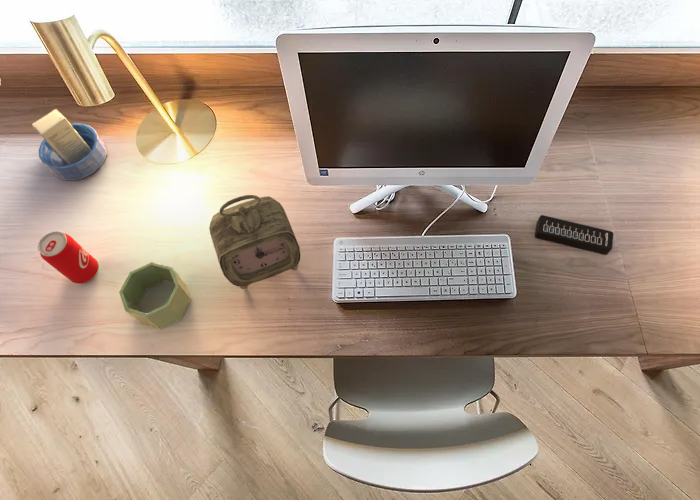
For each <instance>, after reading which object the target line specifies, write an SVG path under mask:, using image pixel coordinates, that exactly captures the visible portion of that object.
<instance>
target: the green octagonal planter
mask: <svg viewBox="0 0 700 500" xmlns="http://www.w3.org/2000/svg"><path fill="white" fill-rule="evenodd" d="M164 281H166V282H169V283H174V285H175V286H174V289H173V291H172V292H171V295H170V297H169V299H168V301H167V302H166V304H164V305H162V306H159V307H158V308H155V309H153V310H151V311H149V312H147V313H146V312H143V311H141V310H140V308H139V304H140V302H141V300H142V299H143V297H144V295H145V293H146V291H147V289H149V288H151V287H153V286H156V285H158V284H160V283H162V282H164ZM118 293H119V297H120V300H121V302H122V305H123V308H124V310H125V312H126V313H127V314H128V315H130V316H131V317H132V318H134V319H135V320H136V321H137V322H138V323H139V324H141V325H143V326H147V327H150V328H154V329H158V330H163V329H165V328H168V327H169V326H171V325H173V324H175V323H177V322H179V321H181V320H183V317H184V316H185V313H186V312H187V310H188V307H189V305H190V303H191V300H192V298H191V296H190V293H189V291H188V289H187V286H186V284H185V282H184V280H183V279H182V278H181V277H180V275H179V274H178V273H177V272H176V271H175V269H174V268H173V267H172V266H169V265H164V264H161V263H156V262H153V261H151V262H149V263H147V264H144V265H142V266H140V267H138V268H135V269H133V270H131V271H130V272H129V273H128V275H127V277H126V278H125V280H124V281H123V284H122V286H121V288H120V289H119V291H118Z"/></svg>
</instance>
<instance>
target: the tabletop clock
mask: <svg viewBox="0 0 700 500" xmlns="http://www.w3.org/2000/svg"><path fill="white" fill-rule="evenodd" d="M245 200H248V201H245ZM241 201H244V202H242V203H241ZM239 202H240V203H239ZM237 203H238V204H237ZM234 204H236V205H234ZM232 205H233V206H232ZM208 227H209V228H208V229H209V235H210V238H211V241H212V244H213V248H214V251H215V254H216V257H217V261H218V264H219V267H220V270H221V272H222V274H223V276H224V277H225V278H226V279H227V281H228V282H229V283H230V284H231V285H233V286H235V287H239V288H240V289H242V290H246V289H247V288H248V286H249V285H251V284H255V283H258V282H261V281H264V280H267V279H270V278H272V277H274V276H277V275H279V274H282V273H284V272H287V271H289V270H291V271H296V270H298V268H299V263H300V261H301V247H300V244H299V242H298V240H297V238H296V235H295V233H294V230H293V228H292V226H291V223H290V220H289V218H288V215H287V212H286V211H285V208H284V207H283V205H282V204H281V202H279V201H277V200H276V199H275V198H273V197H272V196H270V195H268V196H258V195H255V194H246V195H245V194H244V195H241V196H238V197H235V198H232V199H230V200H228V201H226V202H225V203H223V204H222V206H221V207H220V208H219V211H218V212H216V213H215V214H214V215H212V217H211V219H210V223H209V226H208Z"/></svg>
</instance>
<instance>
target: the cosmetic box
mask: <svg viewBox="0 0 700 500" xmlns="http://www.w3.org/2000/svg"><path fill="white" fill-rule="evenodd" d="M31 126H32V127H33V129H35V130H36V132H37V133H38V134H39V135H40V136H41V137H42V138H43V140H44V139H45V140H46V141H47V142H48V143H49V145H50V146H51V147H52V148H53V149H54V150H55V151H56V152H57V153H58V154H59V155H60V156H61V158H62V159H63V160H64V161H65V162H66V163H67V164H68V165H71V164H75V163H77V162H78V161H80V160H82V159H84V158H85V157H86V156H87V155H88V154H89V153H90V152H91V149H90V147H89V146H88V145H87V144H86V143H85V141H84V140H83V139H82V138H81V136H80V135H79V134H78V133H77V132H76V130H75V129H74V128H73V127H72V125H71V123H70V121H68V119H67V118H66V117H65V116H64V115H63V114H62V113H61V111H59V110H58V109H57V108H54V109H53V110H51V111H49V112H48V113H46V114H45V115H44V116H42V117H40V118H39V119H37V120H36V121H35V122H33V123H32V124H31Z"/></svg>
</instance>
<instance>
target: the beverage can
mask: <svg viewBox="0 0 700 500" xmlns="http://www.w3.org/2000/svg"><path fill="white" fill-rule="evenodd" d="M37 250H38V252H39V255H40V257H41V259H42V260H43V261H44V262H46V263H47V264H48V265H50V266H51V267H52V268H53V269H55V270H56V271H57V272H59V273H60V274H62V275H63V277H64V278H65V277H66V278H67V280H70V282H72V283H73V284H76V285H77V284H78V285H79V284H86V283H88V282H90V281H91V280H93V278H95V277H96V276H97V273H98V271H99V266H100V265H99V261H98V260H97V259H96V258H95V257H94V256H92V254H90V252H88V250H86V249H85V248H84V247H83V246H82V245H81V244H80V243H79V242H77V240H75V239H74V238H73V237H72V236H71V235H69V234H67V233H64V232H61V231H51V232H48V233H46V234H45V235H44V236H42V238H41V239H40V240H39V242H38V244H37Z"/></svg>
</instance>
